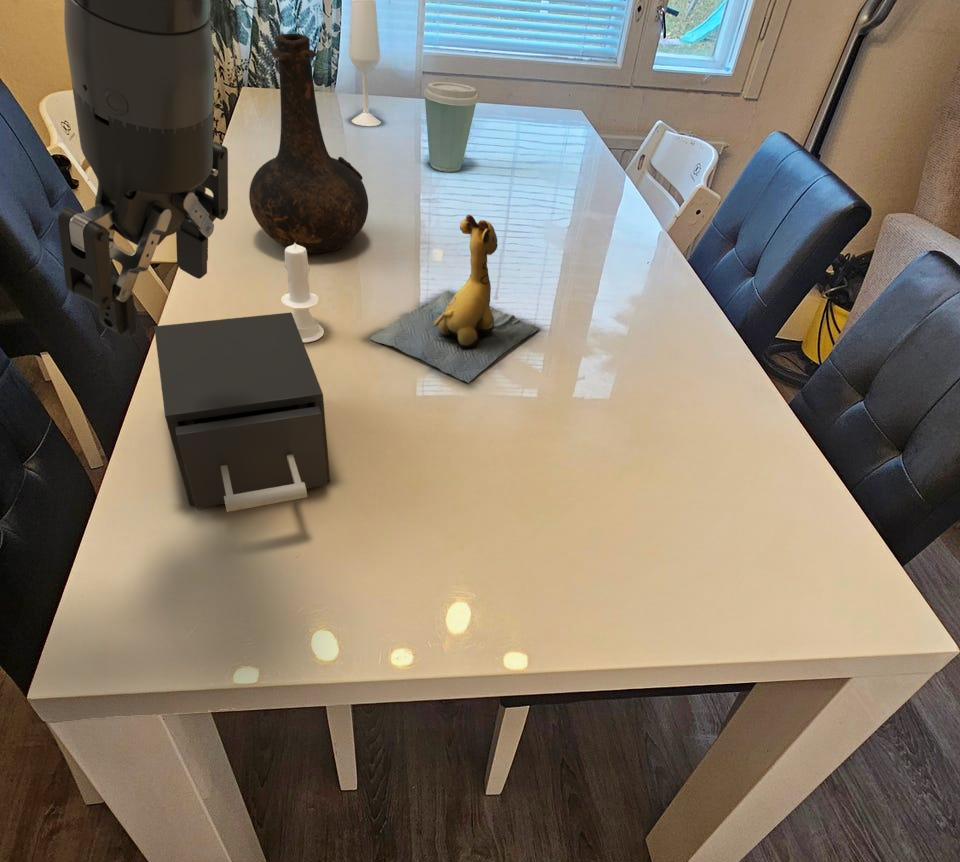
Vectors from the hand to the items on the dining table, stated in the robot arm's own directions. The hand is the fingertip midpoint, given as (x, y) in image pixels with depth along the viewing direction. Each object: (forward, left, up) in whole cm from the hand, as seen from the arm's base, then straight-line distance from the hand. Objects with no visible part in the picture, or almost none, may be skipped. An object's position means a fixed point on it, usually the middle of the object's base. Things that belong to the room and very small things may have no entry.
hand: (157, 299), depth 54 cm
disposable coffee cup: (+56, +90, -22) cm, 108 cm away
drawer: (+5, +4, -21) cm, 22 cm away
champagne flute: (+47, +121, -22) cm, 132 cm away
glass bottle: (+22, +59, -22) cm, 67 cm away
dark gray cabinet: (+5, +9, -22) cm, 24 cm away
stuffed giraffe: (+35, +26, -22) cm, 49 cm away
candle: (+15, +31, -22) cm, 41 cm away
